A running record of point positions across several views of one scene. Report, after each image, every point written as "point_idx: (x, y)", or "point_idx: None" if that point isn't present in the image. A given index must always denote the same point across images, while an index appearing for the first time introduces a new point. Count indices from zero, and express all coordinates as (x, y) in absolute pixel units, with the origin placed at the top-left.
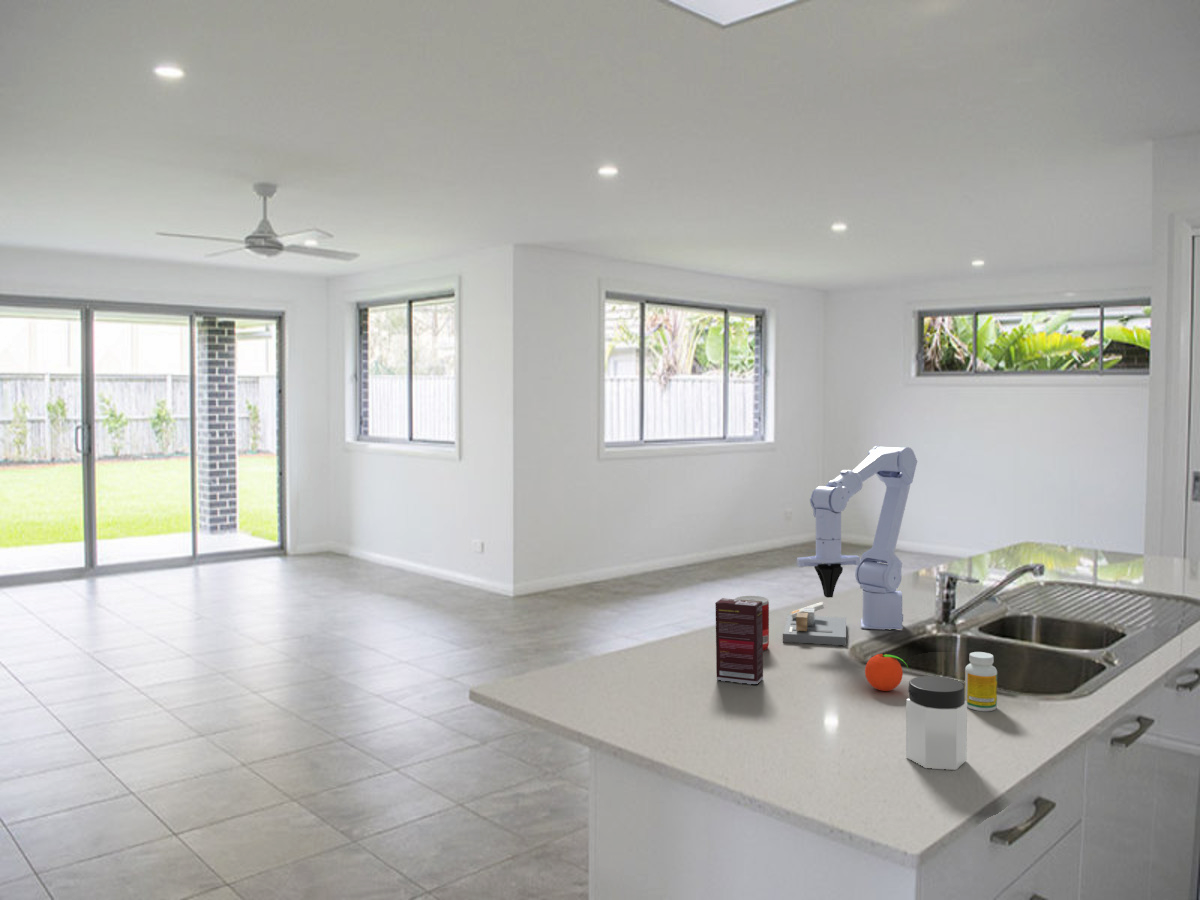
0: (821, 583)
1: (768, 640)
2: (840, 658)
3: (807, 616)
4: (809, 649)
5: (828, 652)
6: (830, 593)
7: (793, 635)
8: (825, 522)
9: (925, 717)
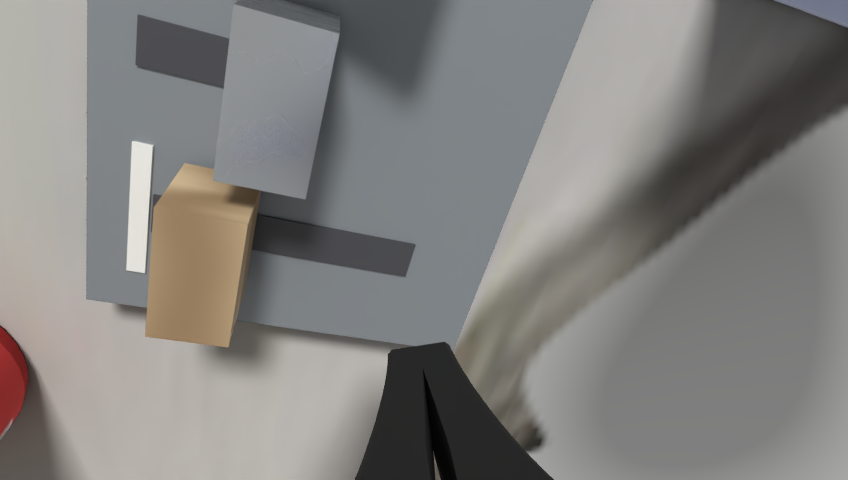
0: (368, 451)
1: (11, 412)
2: None
3: (244, 256)
4: (253, 373)
5: (336, 407)
6: (433, 450)
7: None
8: None
9: None
